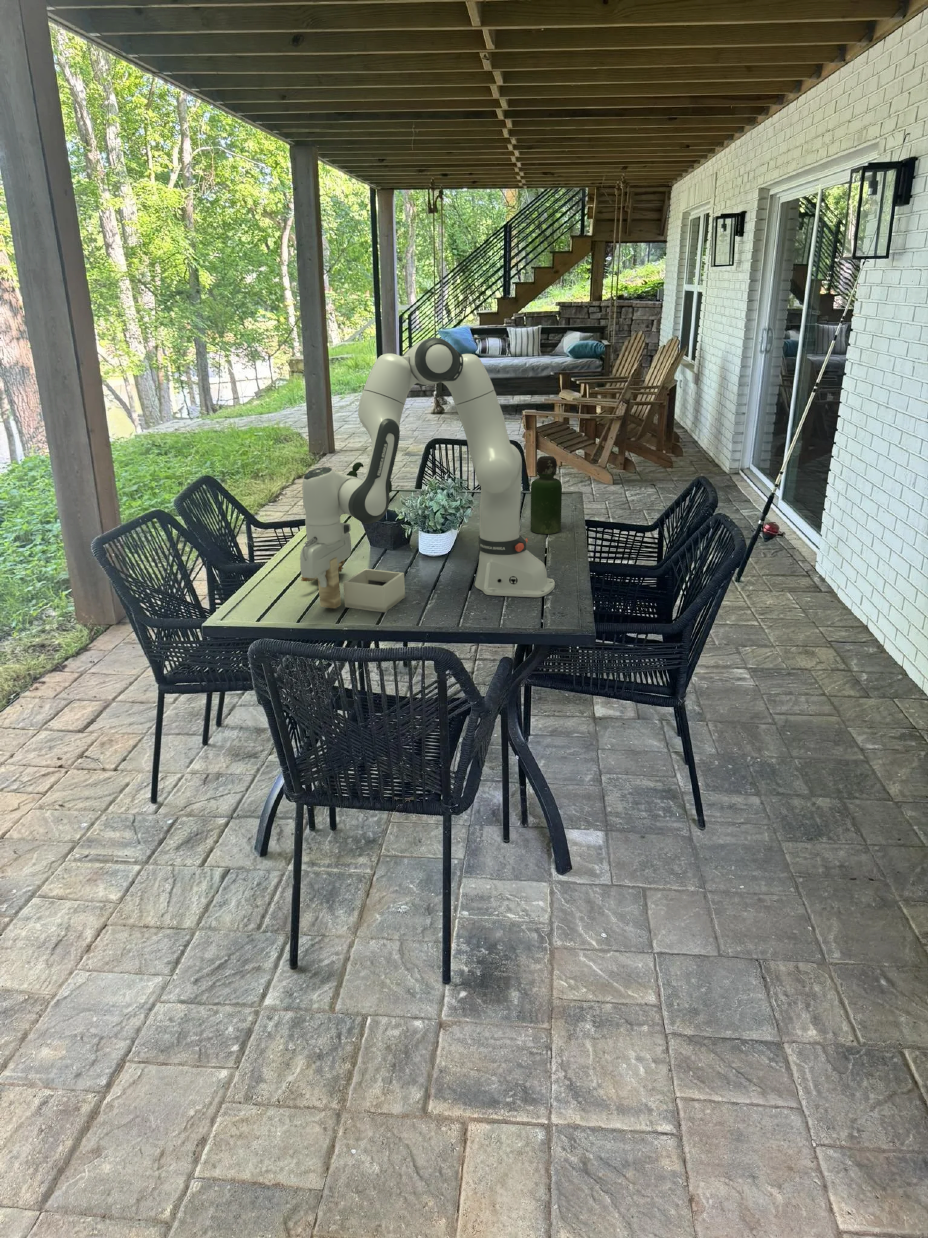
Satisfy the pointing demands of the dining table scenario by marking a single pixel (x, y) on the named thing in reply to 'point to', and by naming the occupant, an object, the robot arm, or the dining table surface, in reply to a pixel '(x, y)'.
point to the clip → (376, 582)
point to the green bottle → (546, 498)
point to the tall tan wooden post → (331, 587)
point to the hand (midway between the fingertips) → (328, 583)
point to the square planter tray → (374, 590)
